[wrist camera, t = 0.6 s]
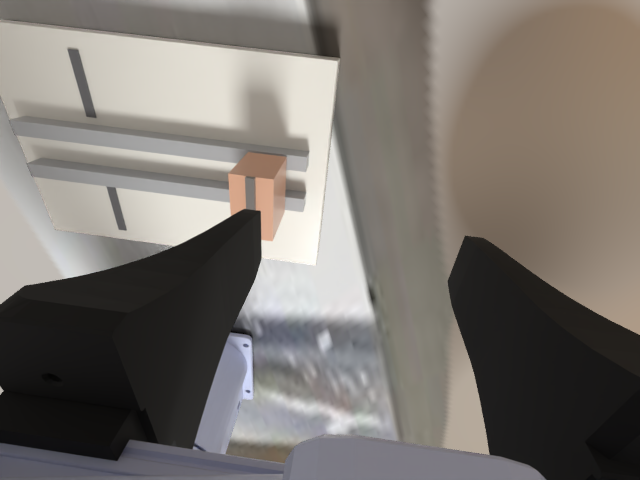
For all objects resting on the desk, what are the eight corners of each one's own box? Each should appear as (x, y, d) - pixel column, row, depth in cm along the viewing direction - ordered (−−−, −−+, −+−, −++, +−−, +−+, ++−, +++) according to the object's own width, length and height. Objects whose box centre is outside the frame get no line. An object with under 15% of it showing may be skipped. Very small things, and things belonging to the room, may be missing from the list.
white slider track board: (319, 248, 23) (314, 274, 21) (76, 215, 24) (43, 237, 22) (340, 58, 17) (336, 62, 14) (6, 19, 18) (-53, 18, 15)
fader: (287, 205, 19) (271, 243, 16) (253, 200, 19) (230, 238, 16) (289, 151, 17) (272, 181, 14) (252, 146, 17) (226, 175, 14)
